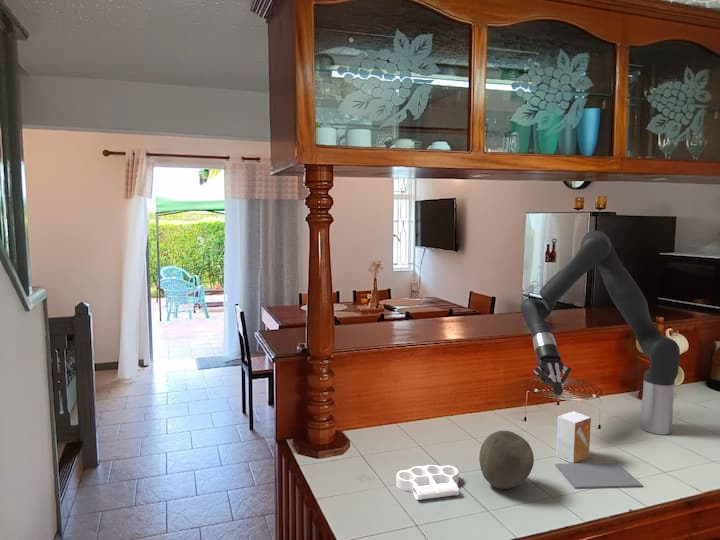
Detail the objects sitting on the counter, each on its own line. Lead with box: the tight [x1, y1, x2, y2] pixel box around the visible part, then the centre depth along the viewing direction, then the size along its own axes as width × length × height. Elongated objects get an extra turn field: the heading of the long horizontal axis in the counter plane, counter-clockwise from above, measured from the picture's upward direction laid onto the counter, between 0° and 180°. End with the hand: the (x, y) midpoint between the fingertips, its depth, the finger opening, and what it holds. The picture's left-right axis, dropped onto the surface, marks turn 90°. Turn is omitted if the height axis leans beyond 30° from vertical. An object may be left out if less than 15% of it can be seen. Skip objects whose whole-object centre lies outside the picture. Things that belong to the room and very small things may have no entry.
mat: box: [554, 461, 644, 489], centre depth 145 cm, size 13×19×1 cm
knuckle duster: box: [396, 464, 460, 501], centre depth 141 cm, size 3×18×15 cm
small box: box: [555, 410, 592, 463], centre depth 156 cm, size 8×6×13 cm
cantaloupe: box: [478, 430, 535, 490], centre depth 140 cm, size 14×14×15 cm
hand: (559, 394), depth 166 cm, fingers closed
